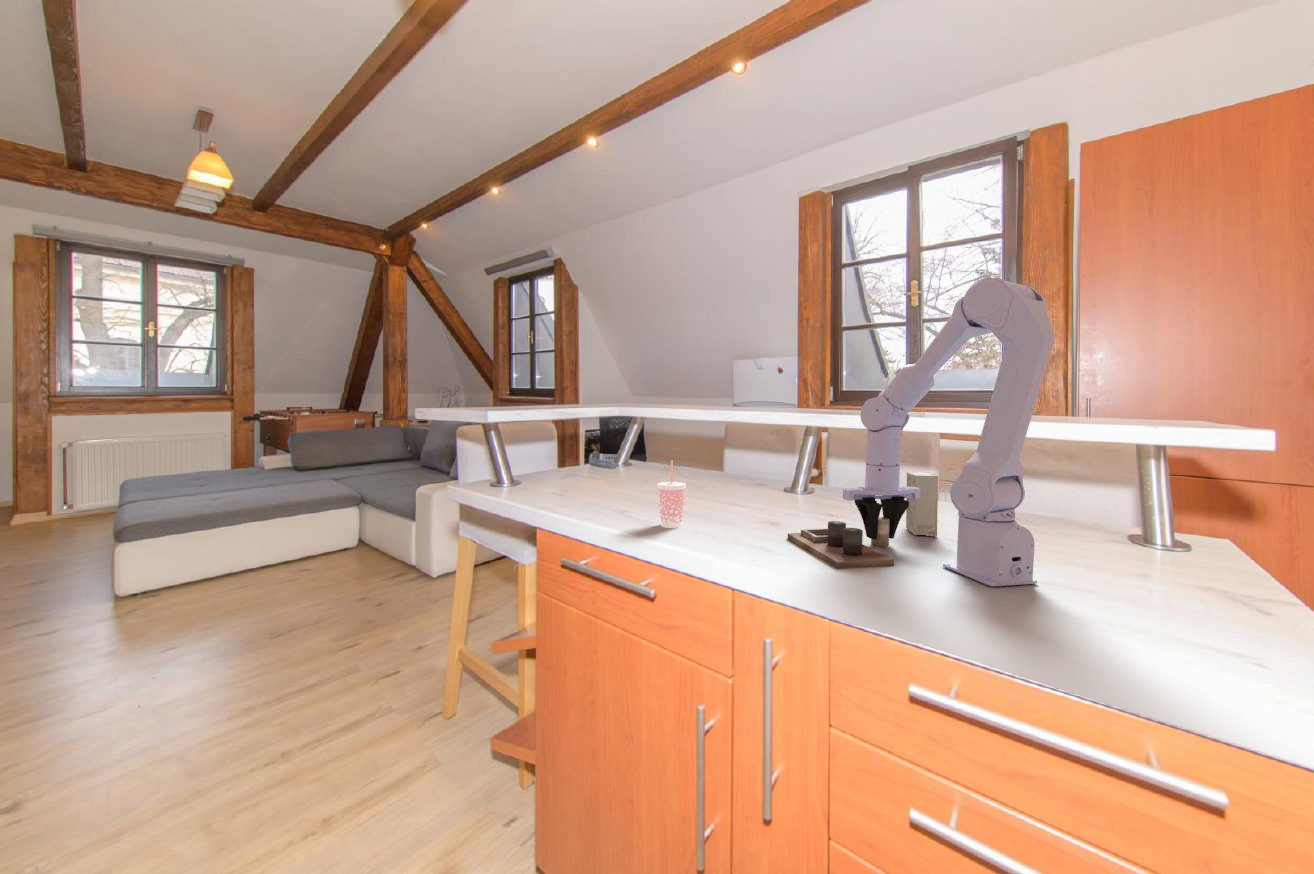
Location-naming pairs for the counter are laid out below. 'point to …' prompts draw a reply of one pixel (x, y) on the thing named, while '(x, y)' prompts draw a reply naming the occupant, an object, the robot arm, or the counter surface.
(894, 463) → the robot arm
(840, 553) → the pin board
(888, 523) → the maple pin
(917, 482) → the skincare box
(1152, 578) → the counter surface
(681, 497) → the beverage cup
